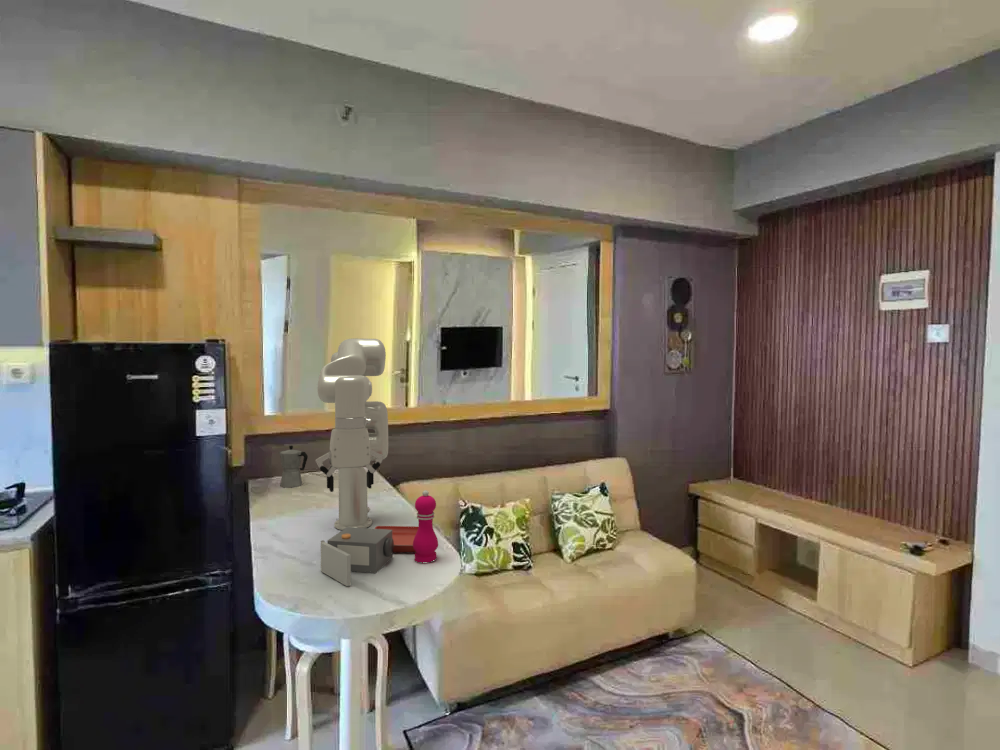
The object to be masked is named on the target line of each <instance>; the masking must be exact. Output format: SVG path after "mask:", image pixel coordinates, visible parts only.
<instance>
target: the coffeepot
mask: <svg viewBox="0 0 1000 750" xmlns="http://www.w3.org/2000/svg"><path fill="white" fill-rule="evenodd" d="M288 448H289V449H286V450H282V451H278V454H279V456H280V463H281V467H282V468H283V469H282V470H283V471H282V473H281V478H280V487H281V488H284V489H285V488H286V489H289V488H293V489H294V488H299V487H301V486H302V485H303V480H302V475H301V471H304V470H305V468H306V466H307V465H306V464H307V462H308V459H309V458H308V453H306V451H301V450H297V449H294V446H293V445H289V446H288ZM302 457H303V459H302ZM301 462H302V464H301ZM301 465H302V466H301Z"/></svg>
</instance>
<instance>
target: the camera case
mask: <svg viewBox="0 0 1000 750" xmlns="http://www.w3.org/2000/svg"><path fill="white" fill-rule="evenodd" d="M326 543H328V544H330V545H332V546H334V547H336V548H338V549H340V550H342V551H344V552H346V553H348V554H350V555H351V572H355V571H357V572H358V573H371V574H377V573H378V572H379V571H381V569H382V568H383V567H384V566H385V565H386V564H387V563H388V562H389V561H390V560H391V559H392V558H393V554H394V552H393V549H394V541H393V539H392V530H387V529H375V528H372V527H371V528H368V527H367V528H354V527H346V528H345V529H343V530H340V531H339V532H337V533H336V534H334V536H332V537H330V538H329V539H327V542H326ZM357 572H356V573H357Z"/></svg>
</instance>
